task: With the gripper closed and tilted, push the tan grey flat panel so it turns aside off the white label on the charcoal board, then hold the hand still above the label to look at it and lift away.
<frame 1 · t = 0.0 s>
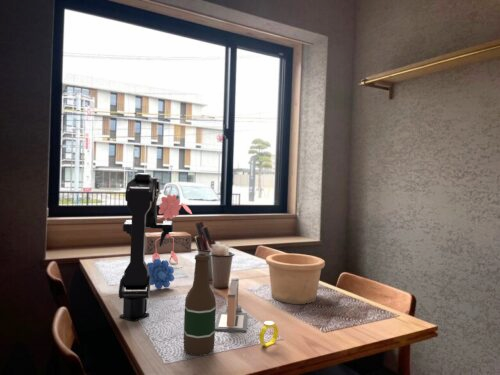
hand: (148, 246, 150), 15 cm above the table, tool pointing down, fingers open, 9 cm apart
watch: (268, 345, 100), on the table
pottery: (293, 297, 142), on the table
tissue box cover: (166, 251, 223), on the table
label board: (233, 310, 125), on the table
grapes: (159, 290, 145), on the table
tan grey flat panel: (232, 300, 117), point 6 cm above the table, hinge at 0.0°
beer bottle: (198, 350, 96), on the table
pink tall branching piece: (168, 266, 184), on the table
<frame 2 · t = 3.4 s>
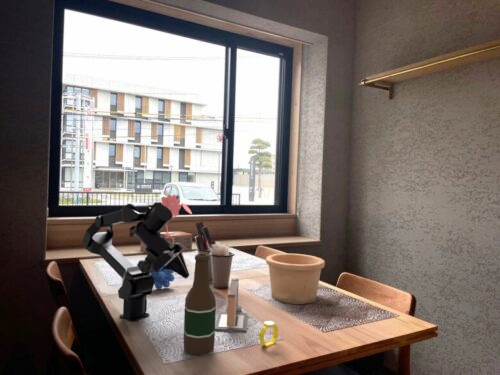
hand: (187, 276, 113), 14 cm above the table, tool tilted 45°, fingers closed
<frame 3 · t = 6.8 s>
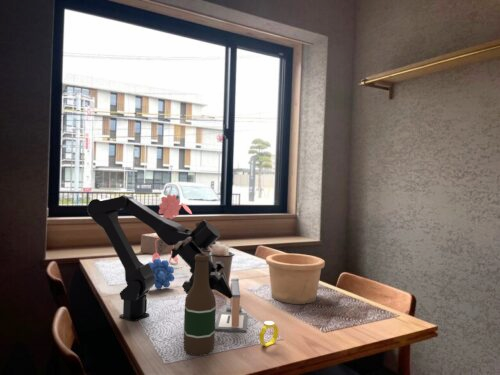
hand: (231, 297, 113), 8 cm above the table, tool tilted 45°, fingers closed, pressing on tan grey flat panel
tan grey flat panel: (235, 300, 117), point 6 cm above the table, hinge at 4.9°, touching gripper
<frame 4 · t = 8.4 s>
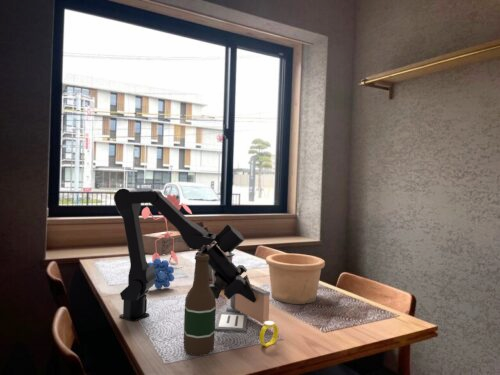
hand: (255, 301, 113), 7 cm above the table, tool tilted 45°, fingers closed
tan grey flat panel: (248, 299, 118), point 6 cm above the table, hinge at 36.8°, touching gripper
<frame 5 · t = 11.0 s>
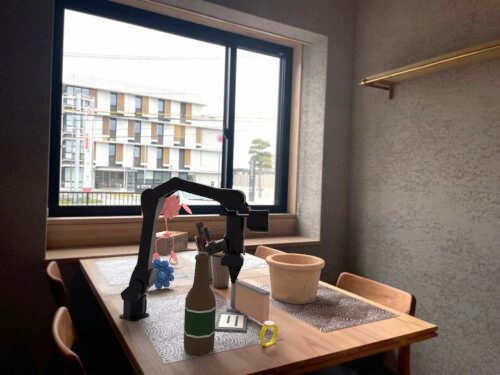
hand: (233, 283, 113), 12 cm above the table, tool pointing down, fingers closed
tan grey flat panel: (248, 299, 118), point 6 cm above the table, hinge at 36.9°
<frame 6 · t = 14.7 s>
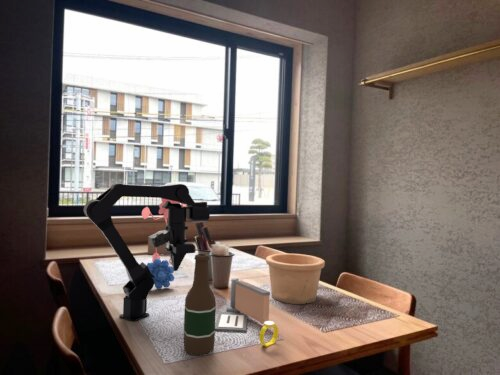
hand: (175, 270, 122), 13 cm above the table, tool pointing down, fingers closed
at the end: tan grey flat panel at +37° (first picture: +0°) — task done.
